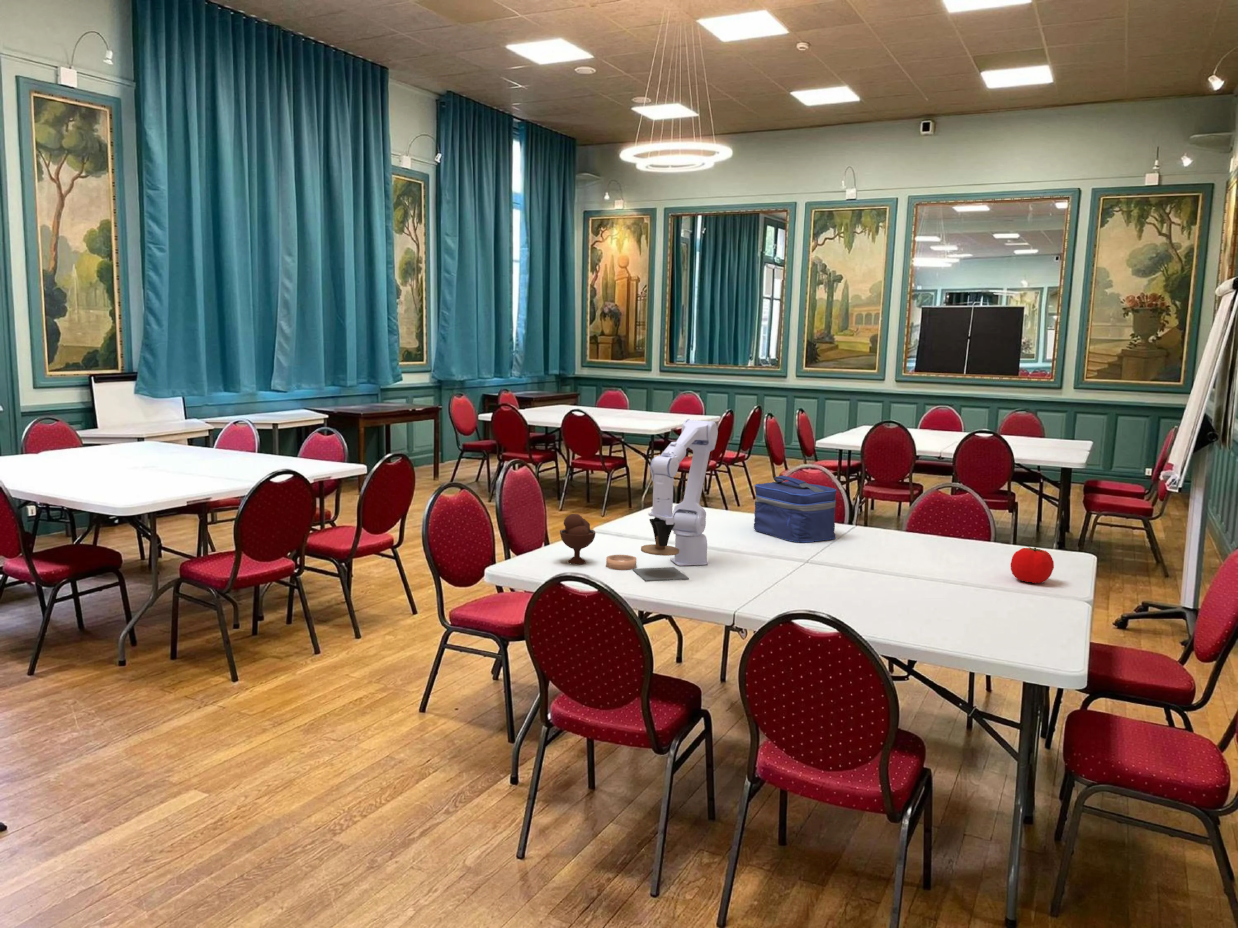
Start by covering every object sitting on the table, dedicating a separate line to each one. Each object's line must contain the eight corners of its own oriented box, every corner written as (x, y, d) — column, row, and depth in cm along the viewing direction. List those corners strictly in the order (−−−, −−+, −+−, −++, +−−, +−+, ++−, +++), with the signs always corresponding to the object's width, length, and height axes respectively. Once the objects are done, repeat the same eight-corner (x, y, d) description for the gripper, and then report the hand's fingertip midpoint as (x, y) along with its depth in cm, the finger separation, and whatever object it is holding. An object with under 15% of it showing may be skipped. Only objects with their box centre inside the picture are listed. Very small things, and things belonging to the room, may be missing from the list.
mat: (674, 568, 272) (674, 567, 272) (689, 579, 260) (689, 578, 260) (632, 570, 269) (632, 568, 269) (645, 581, 256) (645, 579, 256)
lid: (674, 547, 269) (675, 533, 269) (682, 556, 259) (683, 541, 258) (637, 546, 268) (638, 532, 267) (644, 554, 257) (645, 540, 256)
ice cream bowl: (590, 567, 270) (591, 517, 268) (554, 564, 272) (555, 515, 270) (598, 559, 280) (599, 511, 278) (563, 557, 282) (564, 509, 281)
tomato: (1025, 587, 262) (1028, 552, 260) (1001, 577, 273) (1003, 543, 272) (1061, 586, 264) (1065, 551, 263) (1036, 576, 275) (1039, 542, 274)
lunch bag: (741, 528, 336) (743, 473, 333) (784, 523, 347) (786, 470, 344) (800, 545, 310) (803, 485, 307) (844, 539, 321) (847, 482, 318)
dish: (631, 562, 278) (631, 554, 278) (639, 569, 270) (640, 561, 269) (602, 563, 276) (603, 555, 276) (610, 570, 267) (610, 562, 267)
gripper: (642, 494, 267) (640, 539, 269) (657, 502, 253) (655, 550, 255) (664, 493, 269) (663, 538, 271) (681, 502, 255) (679, 549, 257)
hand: (661, 544), depth 263 cm, fingers closed on lid, 3 cm apart
